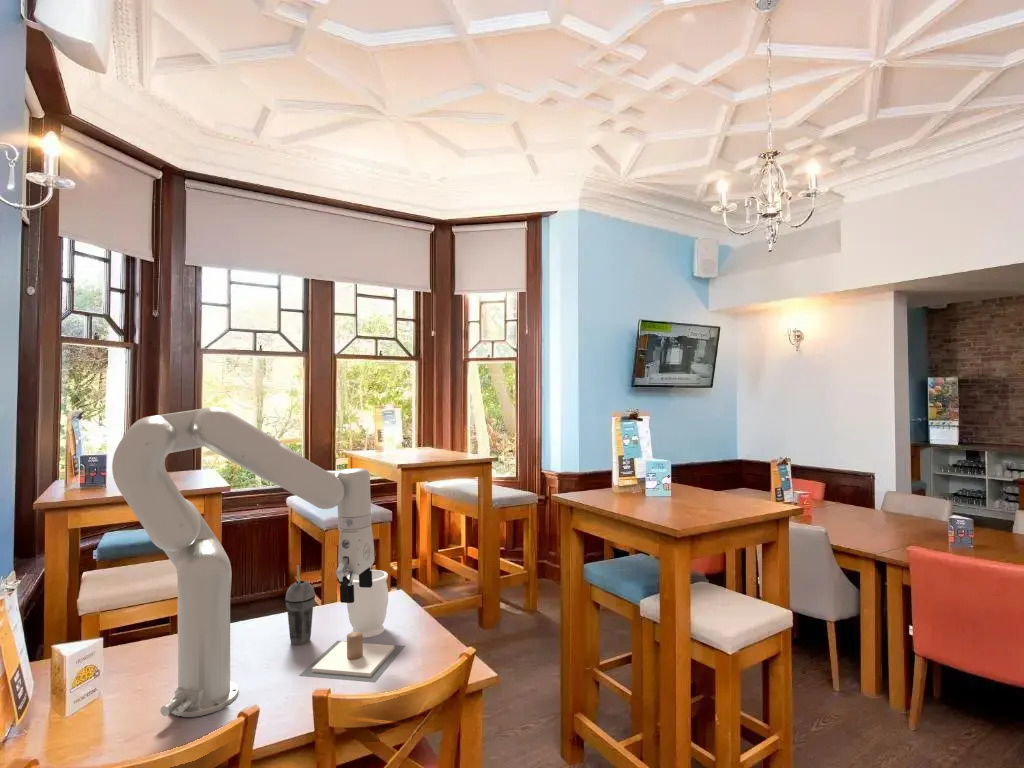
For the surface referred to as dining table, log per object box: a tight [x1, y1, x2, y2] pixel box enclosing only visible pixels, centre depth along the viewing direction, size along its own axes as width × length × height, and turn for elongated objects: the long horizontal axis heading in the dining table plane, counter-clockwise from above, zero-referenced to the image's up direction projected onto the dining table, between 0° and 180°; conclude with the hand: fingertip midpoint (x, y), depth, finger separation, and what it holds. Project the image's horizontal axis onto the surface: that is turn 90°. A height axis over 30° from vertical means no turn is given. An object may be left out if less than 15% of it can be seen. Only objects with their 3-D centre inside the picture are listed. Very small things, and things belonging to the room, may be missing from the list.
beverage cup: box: [284, 565, 316, 647], centre depth 145 cm, size 7×7×20 cm
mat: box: [298, 640, 406, 683], centre depth 135 cm, size 18×18×1 cm
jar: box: [346, 569, 389, 638], centre depth 152 cm, size 11×10×15 cm
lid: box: [312, 632, 395, 677], centre depth 135 cm, size 14×14×6 cm
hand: (356, 594), depth 135 cm, fingers open, 9 cm apart
